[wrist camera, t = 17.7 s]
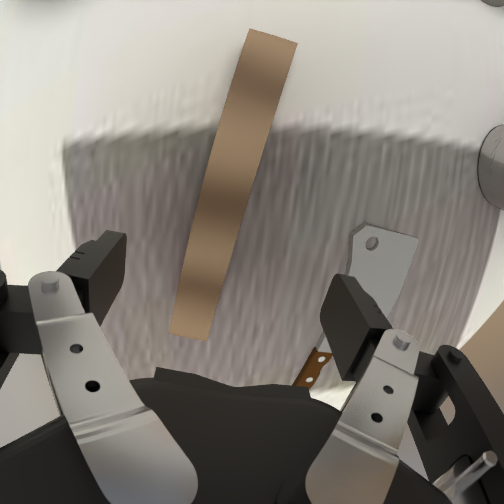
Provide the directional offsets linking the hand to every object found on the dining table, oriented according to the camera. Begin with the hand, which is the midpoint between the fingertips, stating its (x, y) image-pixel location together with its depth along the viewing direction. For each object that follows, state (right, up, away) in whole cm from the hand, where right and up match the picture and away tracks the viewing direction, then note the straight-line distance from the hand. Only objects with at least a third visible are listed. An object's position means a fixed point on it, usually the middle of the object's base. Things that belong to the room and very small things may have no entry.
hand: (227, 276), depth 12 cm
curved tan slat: (-1, +6, +14) cm, 15 cm away
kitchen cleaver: (+11, -7, +21) cm, 25 cm away
